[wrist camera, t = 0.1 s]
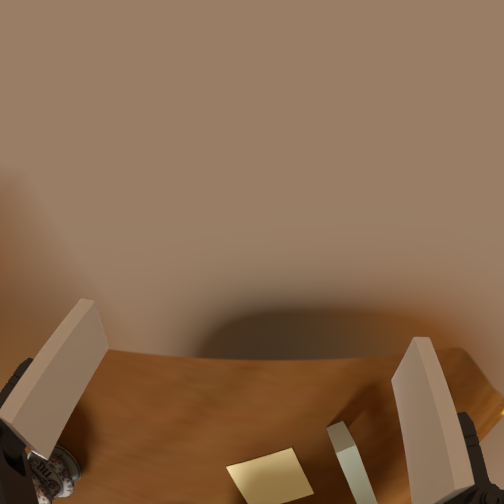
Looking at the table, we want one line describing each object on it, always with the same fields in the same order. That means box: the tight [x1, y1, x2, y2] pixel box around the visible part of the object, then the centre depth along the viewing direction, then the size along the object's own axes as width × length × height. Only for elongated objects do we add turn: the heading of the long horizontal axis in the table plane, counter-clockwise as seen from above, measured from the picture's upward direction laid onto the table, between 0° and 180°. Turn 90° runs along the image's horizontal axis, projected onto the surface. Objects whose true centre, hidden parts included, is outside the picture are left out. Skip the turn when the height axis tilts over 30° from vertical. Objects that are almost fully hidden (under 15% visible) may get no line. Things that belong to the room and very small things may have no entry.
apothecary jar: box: [28, 444, 81, 504], centre depth 37 cm, size 12×12×18 cm
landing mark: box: [226, 447, 314, 504], centre depth 43 cm, size 12×12×1 cm
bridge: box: [326, 421, 377, 504], centre depth 39 cm, size 3×14×9 cm, turn 22°
